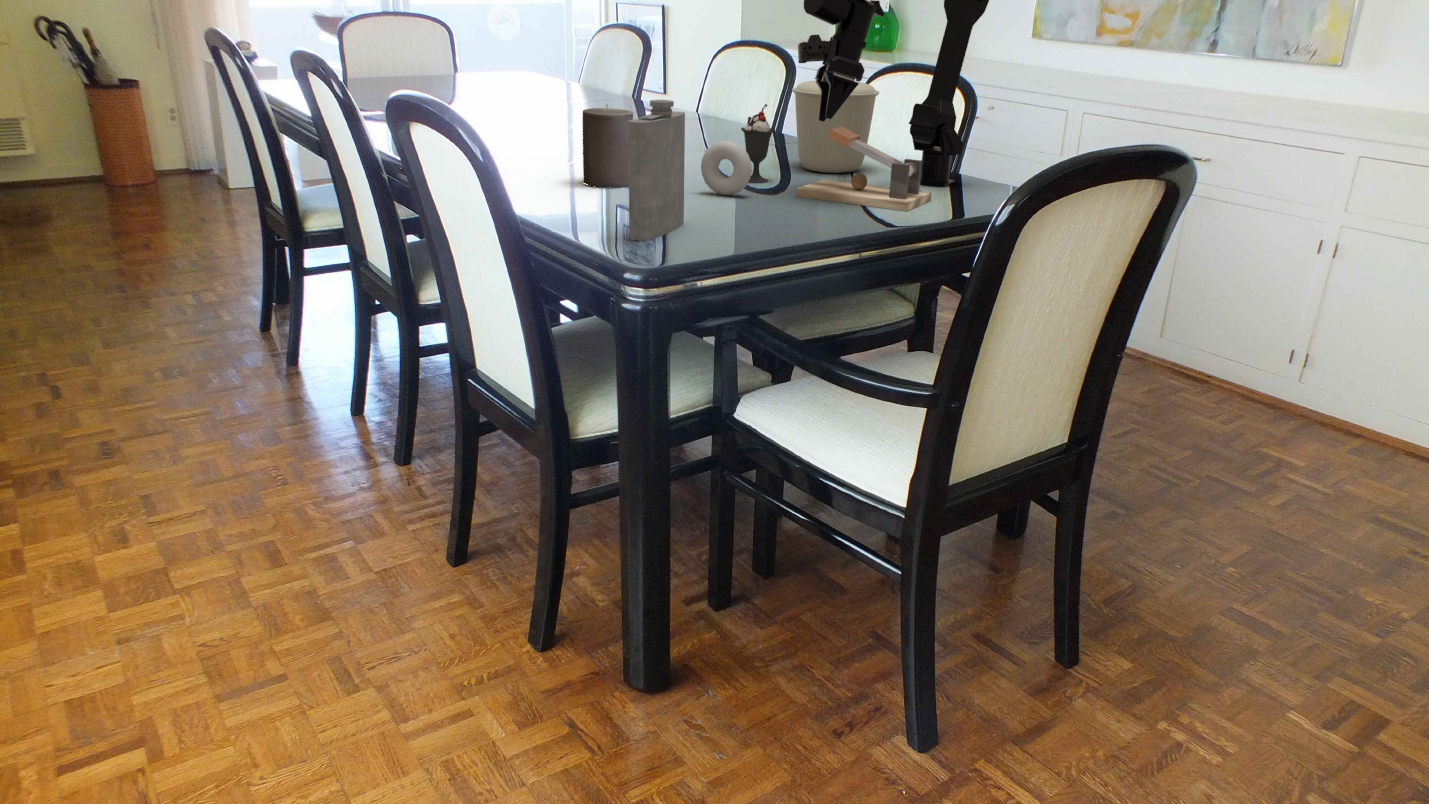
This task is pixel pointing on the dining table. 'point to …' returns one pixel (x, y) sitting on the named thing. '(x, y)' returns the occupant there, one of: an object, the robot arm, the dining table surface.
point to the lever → (865, 148)
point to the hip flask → (656, 171)
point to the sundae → (757, 142)
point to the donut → (740, 165)
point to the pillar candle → (606, 147)
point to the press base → (873, 190)
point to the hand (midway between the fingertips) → (824, 119)
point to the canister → (814, 134)
